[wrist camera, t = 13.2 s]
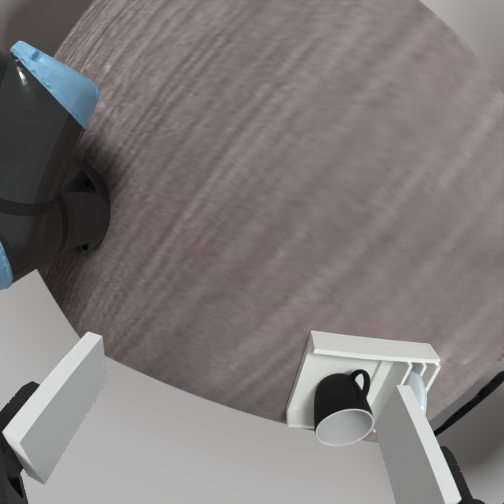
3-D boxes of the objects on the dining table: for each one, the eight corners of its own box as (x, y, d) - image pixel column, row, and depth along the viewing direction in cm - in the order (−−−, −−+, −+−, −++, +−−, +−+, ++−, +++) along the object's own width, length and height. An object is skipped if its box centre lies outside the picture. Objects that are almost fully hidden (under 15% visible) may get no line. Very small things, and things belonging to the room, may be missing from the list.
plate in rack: (374, 409, 51) (391, 461, 38) (402, 354, 47) (430, 405, 34) (380, 409, 51) (397, 460, 38) (408, 354, 47) (436, 405, 34)
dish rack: (286, 406, 52) (286, 430, 46) (311, 330, 47) (315, 352, 41) (392, 412, 52) (400, 434, 46) (429, 343, 47) (442, 363, 41)
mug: (343, 409, 51) (352, 450, 41) (300, 397, 50) (303, 440, 40) (380, 361, 47) (398, 401, 37) (336, 345, 47) (348, 387, 37)
